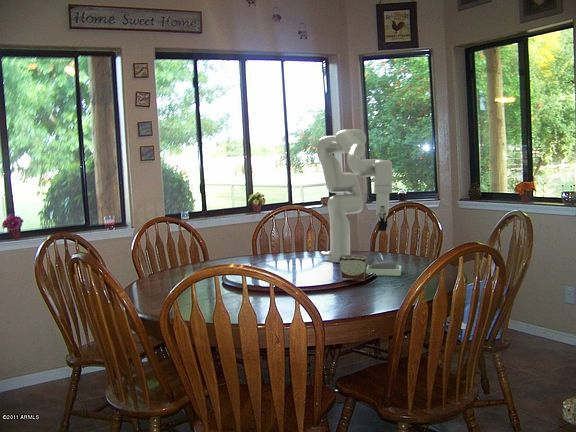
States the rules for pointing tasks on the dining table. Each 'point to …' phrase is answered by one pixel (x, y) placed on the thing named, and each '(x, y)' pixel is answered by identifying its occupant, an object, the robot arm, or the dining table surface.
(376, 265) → the gray cylinder
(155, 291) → the dining table surface
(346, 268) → the food container
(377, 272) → the sage trough
